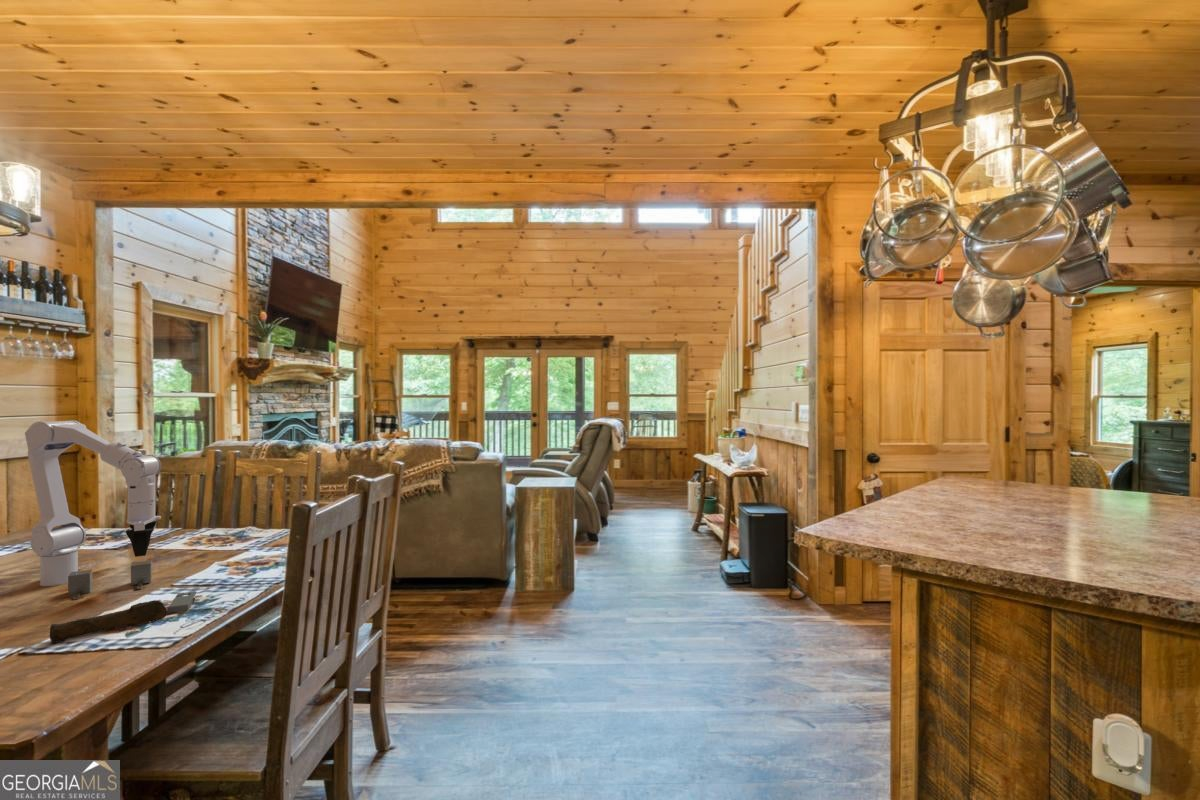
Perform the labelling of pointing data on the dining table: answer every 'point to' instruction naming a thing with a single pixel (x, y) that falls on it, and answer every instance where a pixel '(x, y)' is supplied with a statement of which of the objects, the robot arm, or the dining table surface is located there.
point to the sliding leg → (141, 573)
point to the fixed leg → (79, 583)
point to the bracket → (182, 602)
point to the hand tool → (108, 621)
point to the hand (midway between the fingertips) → (141, 552)
